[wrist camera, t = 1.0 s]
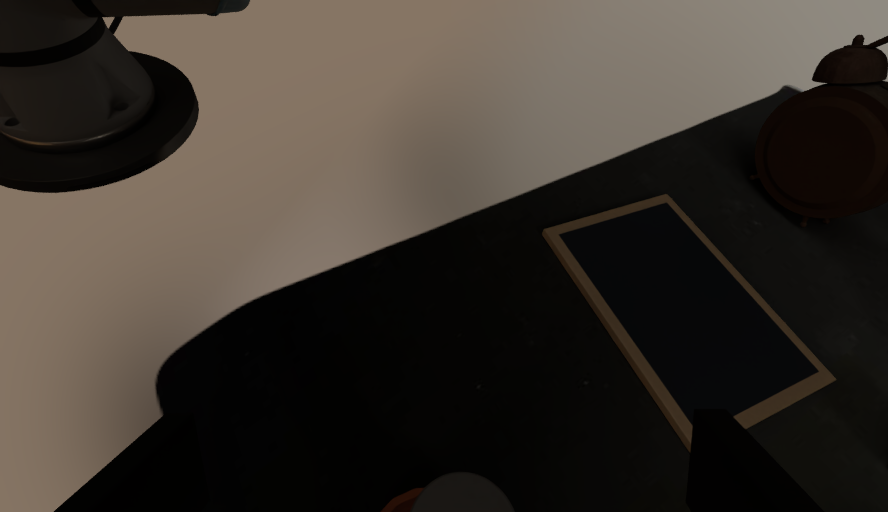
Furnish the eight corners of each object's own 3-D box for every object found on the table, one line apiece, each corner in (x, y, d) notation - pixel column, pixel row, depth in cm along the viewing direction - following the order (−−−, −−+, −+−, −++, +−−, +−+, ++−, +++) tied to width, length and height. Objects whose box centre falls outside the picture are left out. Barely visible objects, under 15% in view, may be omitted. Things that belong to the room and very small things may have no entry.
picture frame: (541, 234, 49) (544, 228, 48) (663, 198, 55) (667, 192, 54) (692, 457, 37) (699, 454, 36) (829, 383, 43) (838, 379, 42)
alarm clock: (853, 235, 55) (1050, 86, 39) (813, 252, 52) (1006, 100, 36) (760, 154, 62) (894, 0, 46) (721, 165, 60) (849, 7, 43)
